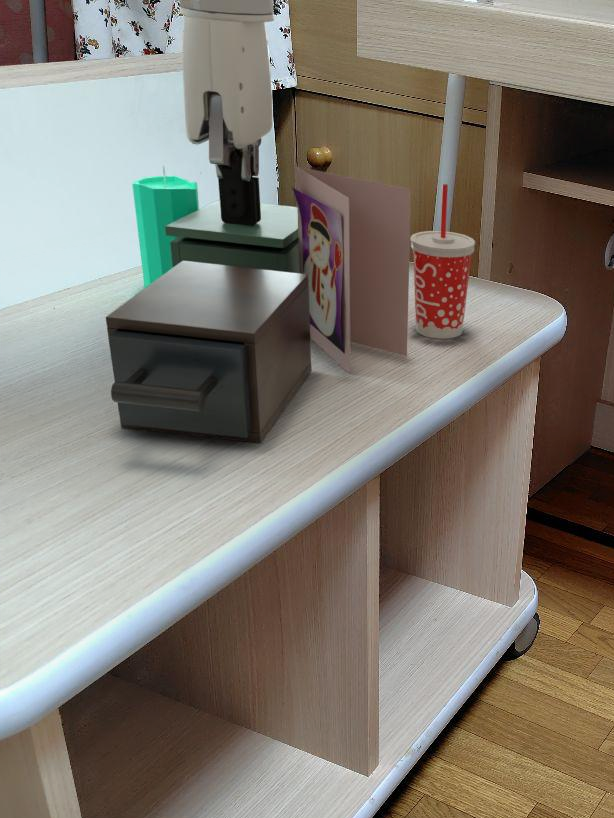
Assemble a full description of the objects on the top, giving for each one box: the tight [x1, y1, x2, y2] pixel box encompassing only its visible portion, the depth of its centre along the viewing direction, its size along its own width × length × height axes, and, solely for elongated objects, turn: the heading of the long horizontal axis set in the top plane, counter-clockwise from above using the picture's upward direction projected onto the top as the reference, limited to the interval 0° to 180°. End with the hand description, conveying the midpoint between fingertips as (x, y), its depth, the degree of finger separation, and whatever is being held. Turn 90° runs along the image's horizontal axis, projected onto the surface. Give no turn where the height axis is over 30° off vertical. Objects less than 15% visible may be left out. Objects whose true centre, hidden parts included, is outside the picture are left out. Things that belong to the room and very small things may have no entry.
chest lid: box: [165, 198, 298, 248], centre depth 94 cm, size 14×11×1 cm
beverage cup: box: [410, 183, 476, 340], centre depth 94 cm, size 6×6×14 cm
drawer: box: [107, 331, 252, 438], centre depth 75 cm, size 18×9×7 cm, turn 176°
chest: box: [170, 237, 300, 274], centre depth 97 cm, size 14×11×8 cm
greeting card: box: [291, 166, 412, 374], centre depth 88 cm, size 11×7×15 cm, turn 33°
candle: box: [132, 165, 200, 289], centre depth 99 cm, size 6×6×12 cm
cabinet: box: [105, 261, 312, 444], centre depth 78 cm, size 15×11×9 cm
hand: (241, 221), depth 91 cm, fingers closed
